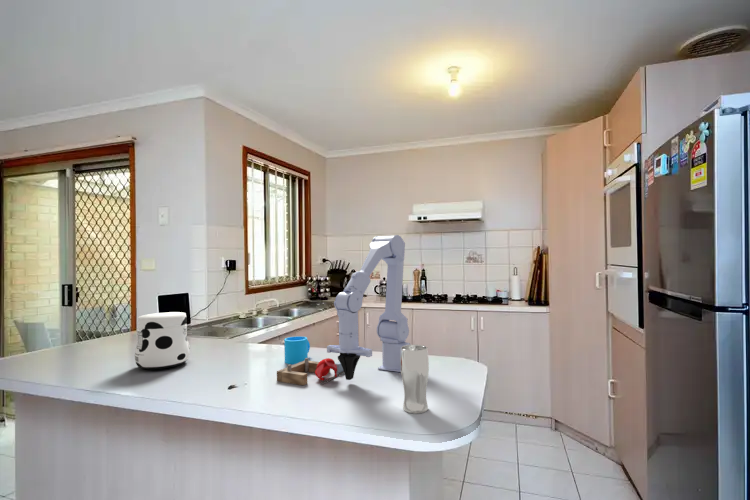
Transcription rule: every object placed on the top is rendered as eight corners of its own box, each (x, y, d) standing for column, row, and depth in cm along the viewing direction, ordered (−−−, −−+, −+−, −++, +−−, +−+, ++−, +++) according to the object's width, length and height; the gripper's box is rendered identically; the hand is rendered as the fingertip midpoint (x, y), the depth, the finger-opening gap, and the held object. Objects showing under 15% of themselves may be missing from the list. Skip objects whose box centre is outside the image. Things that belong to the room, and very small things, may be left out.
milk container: (199, 359, 152) (198, 311, 152) (171, 373, 134) (170, 318, 134) (155, 359, 153) (155, 311, 153) (122, 372, 136) (122, 319, 136)
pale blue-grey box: (347, 369, 133) (347, 358, 133) (339, 373, 129) (338, 361, 129) (343, 369, 134) (342, 357, 134) (334, 373, 130) (334, 361, 130)
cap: (342, 366, 122) (337, 353, 127) (324, 364, 119) (319, 351, 124) (332, 387, 124) (327, 374, 129) (314, 385, 121) (310, 372, 126)
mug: (298, 365, 141) (297, 341, 141) (279, 362, 145) (279, 340, 145) (318, 357, 152) (317, 335, 152) (300, 355, 155) (300, 333, 155)
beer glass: (399, 404, 102) (398, 344, 102) (426, 403, 103) (425, 343, 103) (403, 415, 95) (402, 351, 96) (432, 413, 96) (431, 350, 96)
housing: (351, 369, 134) (351, 355, 134) (315, 387, 117) (315, 371, 117) (315, 364, 141) (315, 351, 141) (276, 381, 123) (276, 366, 123)
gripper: (320, 333, 120) (321, 379, 119) (363, 337, 113) (364, 386, 113) (333, 329, 126) (334, 373, 126) (375, 332, 119) (376, 378, 119)
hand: (349, 378), depth 120 cm, fingers closed
